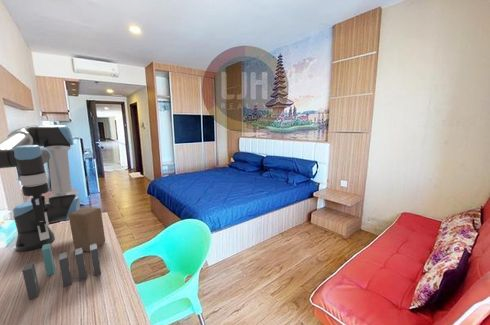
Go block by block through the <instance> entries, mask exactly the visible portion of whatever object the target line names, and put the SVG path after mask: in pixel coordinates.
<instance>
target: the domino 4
mask: <svg viewBox="0 0 490 325" xmlns="http://www.w3.org/2000/svg"><path fill="white" fill-rule="evenodd" d="M74 256H75V260H76V261H75V262H76V267H77V268H76V269H77V272H78V277H79V282H82V281H85V280H87V279H88V278H87V277H88V276H87V268H86V262H85V256H84V251H83V250H82V248H78V249H75V248H74Z"/></svg>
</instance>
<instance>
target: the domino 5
mask: <svg viewBox="0 0 490 325" xmlns="http://www.w3.org/2000/svg"><path fill="white" fill-rule="evenodd" d="M90 256H91V263H92V269H93V275H94V277H96V276H98V275H101V274H102V272H101V271H102V270H101V264H100V257H99V251H98V247H97V245H96V244H92V245H90Z"/></svg>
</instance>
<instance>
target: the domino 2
mask: <svg viewBox="0 0 490 325" xmlns="http://www.w3.org/2000/svg"><path fill="white" fill-rule="evenodd" d="M51 246H52V245H51V243H49V244H45V245H43V246H42V247H41V254H42V259H43V265H44V268H45V269H44V270H45V273H46V277H47V276H51V275H53V274H55V273H56V272H55V271H56V266H55V261H54V256H53V250H52V247H51Z"/></svg>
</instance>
